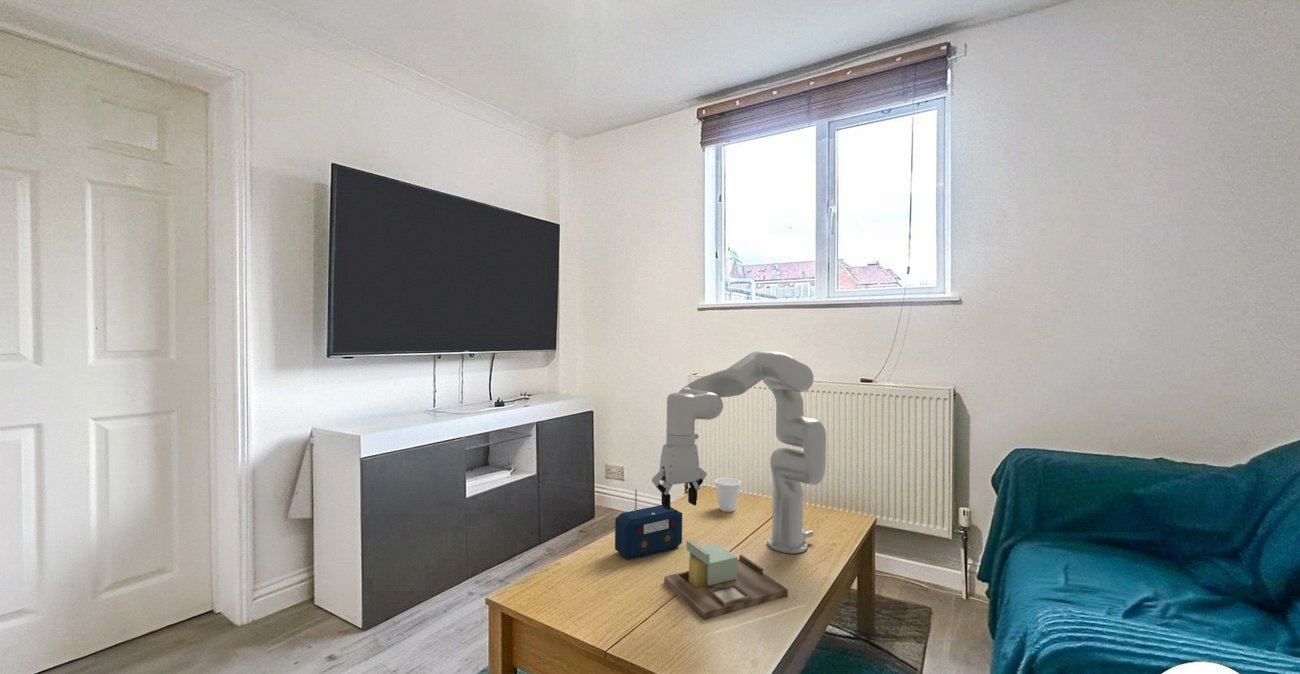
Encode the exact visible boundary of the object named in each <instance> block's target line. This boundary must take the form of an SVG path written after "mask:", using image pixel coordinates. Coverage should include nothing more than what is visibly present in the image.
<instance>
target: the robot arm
mask: <svg viewBox="0 0 1300 674" xmlns="http://www.w3.org/2000/svg"><path fill="white" fill-rule="evenodd" d="M761 381H763V383H764V384H765V385H766V387H767V388H768V389H769V390H770V391H771V392H772V394H773V396H774V399H775V407H776V408H775V411H776V413H775V436H776V439H777V440H778V441H779V442H781V443H782V444H785V445H788V446H792V447H797V448H802V449H803V450H798V449H795V448H791V447H779V448H776V449H775V450H774V451H773V452H772V454H771V456H770V460H769V462H770V470H771V471H770V472H771V477H772V521H771V522H772V523H771V524H772V525H771V526H772V530H771V531H772V532H771V536H769V537H768V538H767V542H766V543H767V546H768V547H769V548H770V549H772V550H774V551H776V552H779V553H785V554H800V553H804V552H805V550H806V549H807V550H808V543H807V541H806V539H808V538H812V537H813V536H814V535H815V534H814V532H813V530H807V531H805V530H804V528H803V527H804V491H803V486H802V484H801V483H803V484H807V485H811V486H817V485H818V484H821V482H822V481H823V480H824V477H825V474H826V465H827V462H826V461H827V460H826V459H827V433H826V429H825V427H824V424H823V423H822V422H821V420H818V419H816V418H811V417H806V416H805V415H804V399H803V396H802V393H804V392H807V391H808V390H810V389H811V388H812V386H813V384H814V374H813V371H812V369H811V368H810V367H809V365H807V364H806V363H803V362H801V361H800V360H798V359H796V358H794V357H793V356H791V355H788V354H786V353H784V352H779V351H770V350H769V351H767V350H766V351H765V350H757V351H753V352H751V353H748V354H747V355H746V356H744V357H743V358H741V359H740V360H738V361H737V362H735V363H734V364H732V365H730V366H729V367H728V368H726V369H723V370H720V371H716V372H713V373H711V374H707V375H704V376H701V377H699V378H697V379H695V380H693V381H691V382H690V383H688V384H686V385H685V386H684V387H682V388H681V389H680V390H679V391H678V392H671V393H670V394H668V396H667V398H666V434H665V435H666V437H665V438H666V439H665V441H666V442H665V443H666V444H665V443H664V444H663V445H662V448H661V454H660V461H659V471H658V472H657V473H655V475H654V476H653V477H652V478H651V482H652V483H653V485H654V486H655V487H656V489H658V491H659V492H660V493H661V505H662V506H663V507H664V508H665V509H667V510H670V507H671V494H669V493H670V491H671V489H672V487H673V485H680V484H688V485H689V487H688V491H687V494H688V495H687V496H688V499H687V500H688V503H689V504H691V505H692V506H697V500H698V491H699V490H700V486H701V485H702V484H703V483H704V480H705V479H706V477H707V475H708V473H707V472H706V471H705V470H704V469H702V468H701V467H700V462H699V461H700V460H699V451H698V447H697V444H695V443H696V440H698V439H699V435H698V433H696V432H695V431H696V430H695V429H696V428H695V427H696V421H697V420H705V421H706V420H707V421H708V420H709V421H710V420H713V419H715V418H717V417H719V416H720V415H721V413H722V411H723V409H724V402H723V399H722V398H730V397H737V396H740V395H743V394H745V393H746V392H747V391H749V390H750V389H752V388H753V387H754V386H756V385H757V384H759V383H760V382H761ZM660 481H662V484H661V482H660ZM807 550H806V551H807Z"/></svg>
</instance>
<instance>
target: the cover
mask: <svg viewBox="0 0 1300 674" xmlns="http://www.w3.org/2000/svg"><path fill="white" fill-rule="evenodd" d="M686 551H688V552H689V559H690V558H695V557H697V558H699V559H700V560H701V561H703V562H704V563H705V564H707V565H708V579H707V584H708V585H709V586H710V585H714V584H718V583H722V582H726V581H730V580H734V579H737V560H738V556H736V555H735V554H734V553H732V552H731V551H729V550H727V549H726V548H724V546H721V545H720V544H718V542H716V543H711V544H706V545H701V546H699V545H697V544H696V543H695V542H693V541H692V540H690V539H688V540H686Z"/></svg>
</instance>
